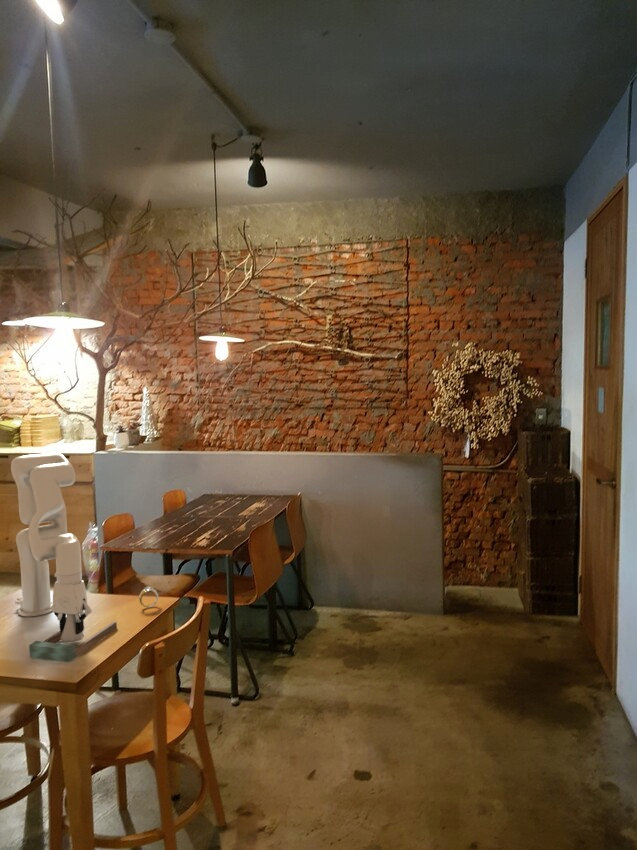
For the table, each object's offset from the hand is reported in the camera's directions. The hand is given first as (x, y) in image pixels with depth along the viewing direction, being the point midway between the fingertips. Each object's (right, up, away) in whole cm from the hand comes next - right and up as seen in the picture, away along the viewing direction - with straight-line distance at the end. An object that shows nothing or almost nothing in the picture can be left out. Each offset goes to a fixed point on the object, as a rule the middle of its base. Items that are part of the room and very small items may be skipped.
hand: (71, 631), depth 195 cm
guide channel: (0, -4, +2) cm, 5 cm away
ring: (+16, -2, +31) cm, 35 cm away
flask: (0, -3, 0) cm, 3 cm away
